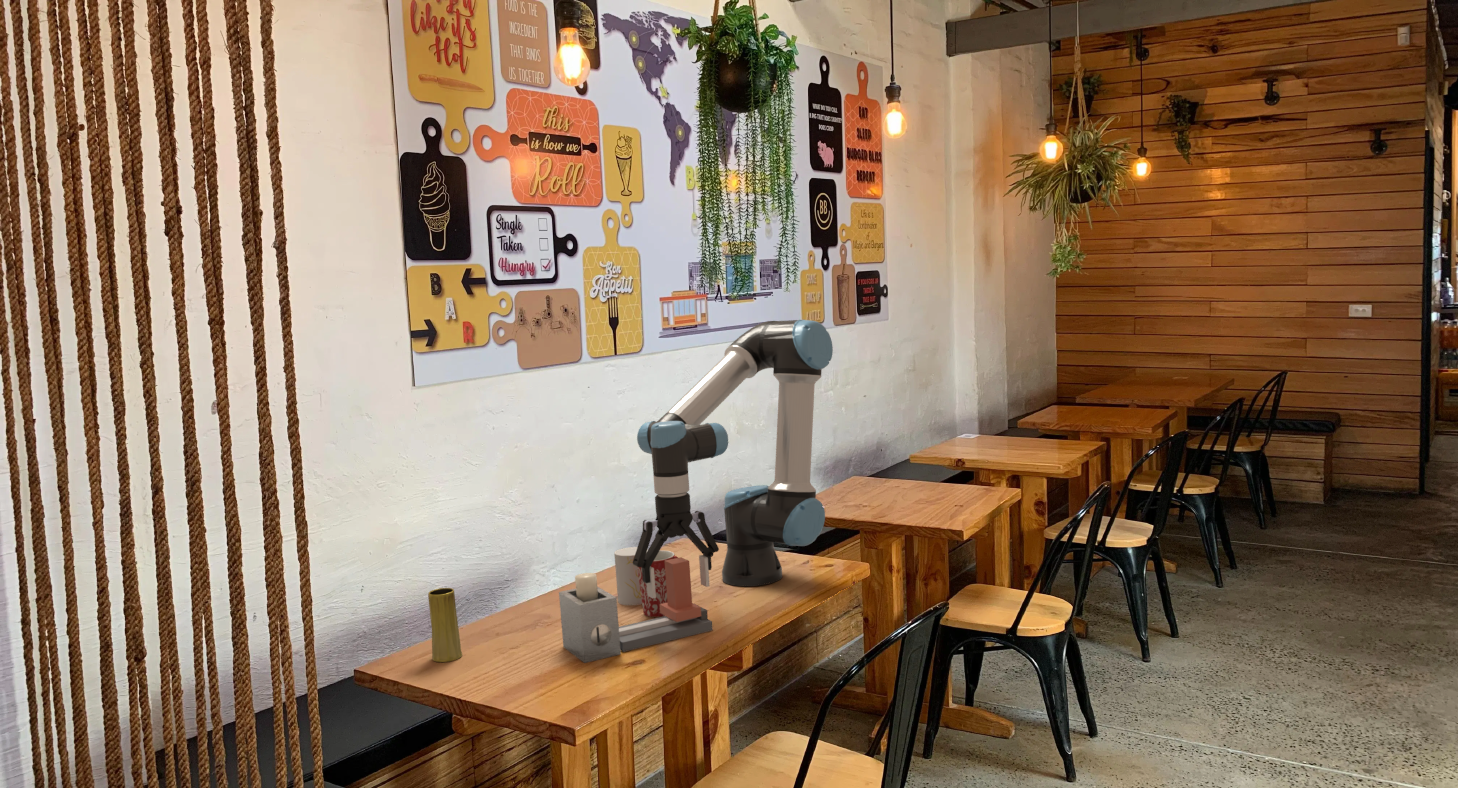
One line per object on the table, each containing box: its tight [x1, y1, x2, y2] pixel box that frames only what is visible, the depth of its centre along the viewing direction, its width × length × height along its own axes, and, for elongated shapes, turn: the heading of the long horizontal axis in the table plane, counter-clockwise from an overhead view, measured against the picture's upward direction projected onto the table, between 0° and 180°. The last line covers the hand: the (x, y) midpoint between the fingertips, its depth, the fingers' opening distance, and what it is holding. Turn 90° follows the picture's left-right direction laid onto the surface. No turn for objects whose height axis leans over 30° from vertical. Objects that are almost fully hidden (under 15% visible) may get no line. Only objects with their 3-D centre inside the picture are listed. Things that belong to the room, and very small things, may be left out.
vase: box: [427, 587, 463, 663], centre depth 223 cm, size 6×6×14 cm
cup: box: [614, 546, 649, 606], centre depth 256 cm, size 8×8×12 cm
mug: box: [637, 549, 679, 618], centre depth 246 cm, size 13×9×14 cm
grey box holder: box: [558, 586, 622, 664], centre depth 222 cm, size 8×13×12 cm, turn 29°
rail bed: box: [619, 603, 713, 653], centre depth 230 cm, size 21×10×4 cm, turn 119°
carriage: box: [660, 557, 702, 622], centre depth 232 cm, size 6×8×12 cm
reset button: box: [574, 572, 598, 602], centre depth 221 cm, size 4×4×5 cm
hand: (678, 591), depth 232 cm, fingers open, 12 cm apart
